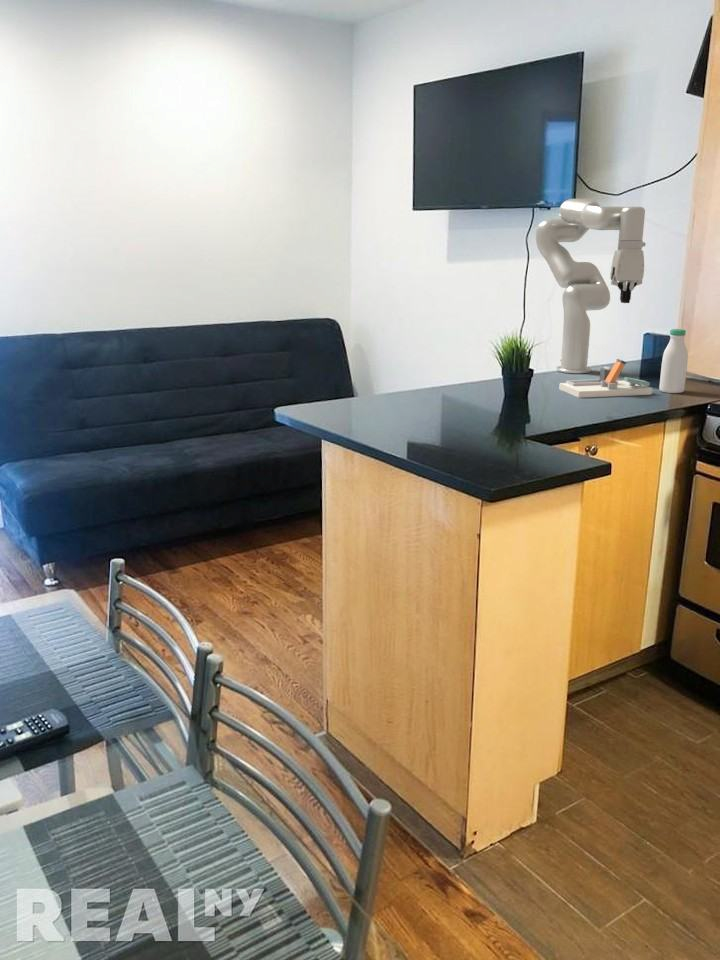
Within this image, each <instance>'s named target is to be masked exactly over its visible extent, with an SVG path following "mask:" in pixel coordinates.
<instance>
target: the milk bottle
mask: <svg viewBox="0 0 720 960" xmlns="http://www.w3.org/2000/svg"><path fill="white" fill-rule="evenodd" d="M669 337H670V339H669V342H668V344H667V346H666V348H665V349H664V351H663V353H662V359H661V360H662V361H661V369H660V378H659V387H658V388H659V392H663V393H668V394H681V393H684V391H685V390H686V389H685V387H686V378H687V371H688V370H687V369H688V362H689V361H688V357H689V355H688V350H687V346H686V344H685V338H686V329H681V328H673V329H670V331H669Z"/></svg>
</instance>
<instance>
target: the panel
mask: <svg viewBox="0 0 720 960" xmlns="http://www.w3.org/2000/svg"><path fill="white" fill-rule="evenodd" d="M558 383H559V385H558V386H559V387H558V390H560V391H562V392H565V393H567V394H569V395H572V396H574V397H575V398H579V399H580V398H582V399H583V398H602V397H624V396H625V397H627V396H646V395H647V396H649V395H652V393H653V387H650V386H644V385H642V386H640V385H637V384H634V383H629V382H626V381H624V379H623V380H616V381H615V383H608V384H606V383H605V381H601V382H600V378H598V379H596V378H595V379H572V380H571V379H570V380H568V379H567V380H565V382H558Z"/></svg>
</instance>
